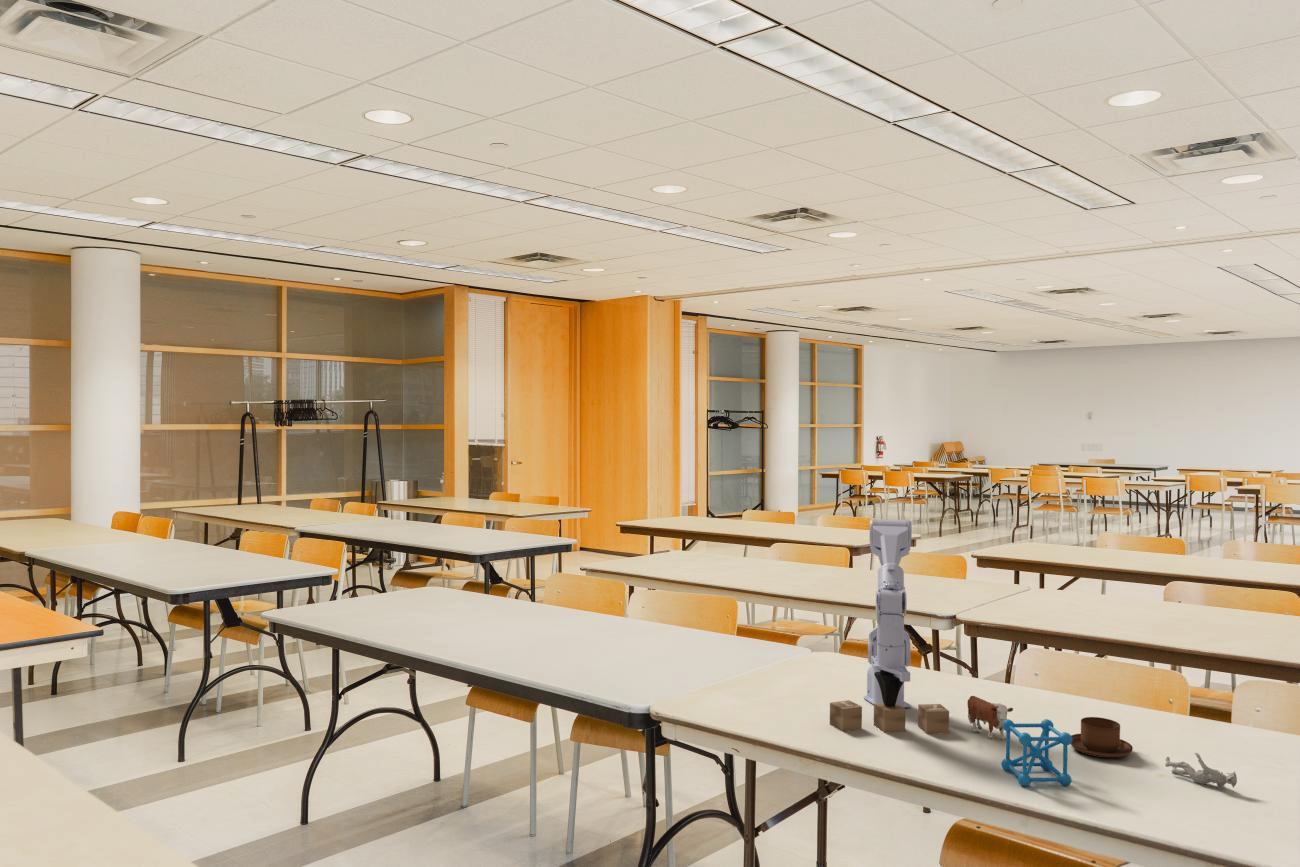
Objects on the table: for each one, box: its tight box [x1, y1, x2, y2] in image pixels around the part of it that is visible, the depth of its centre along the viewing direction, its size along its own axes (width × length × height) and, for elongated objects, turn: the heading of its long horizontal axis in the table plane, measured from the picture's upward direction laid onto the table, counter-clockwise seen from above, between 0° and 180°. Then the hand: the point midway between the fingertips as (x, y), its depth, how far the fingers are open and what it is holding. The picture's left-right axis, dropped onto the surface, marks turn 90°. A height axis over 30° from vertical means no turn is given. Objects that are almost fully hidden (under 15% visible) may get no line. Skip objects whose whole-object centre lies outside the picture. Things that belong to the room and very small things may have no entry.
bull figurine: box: [967, 695, 1014, 741], centre depth 205 cm, size 4×13×8 cm, turn 16°
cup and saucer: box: [1070, 716, 1133, 759], centre depth 196 cm, size 12×12×6 cm
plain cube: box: [873, 703, 906, 734], centre depth 209 cm, size 5×5×5 cm
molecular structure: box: [1000, 718, 1073, 787], centre depth 181 cm, size 10×10×10 cm
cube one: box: [829, 699, 863, 732], centre depth 210 cm, size 5×5×5 cm
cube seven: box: [917, 703, 950, 735], centre depth 208 cm, size 5×5×5 cm
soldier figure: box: [1164, 752, 1238, 788], centre depth 179 cm, size 8×5×12 cm
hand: (889, 705), depth 209 cm, fingers closed
